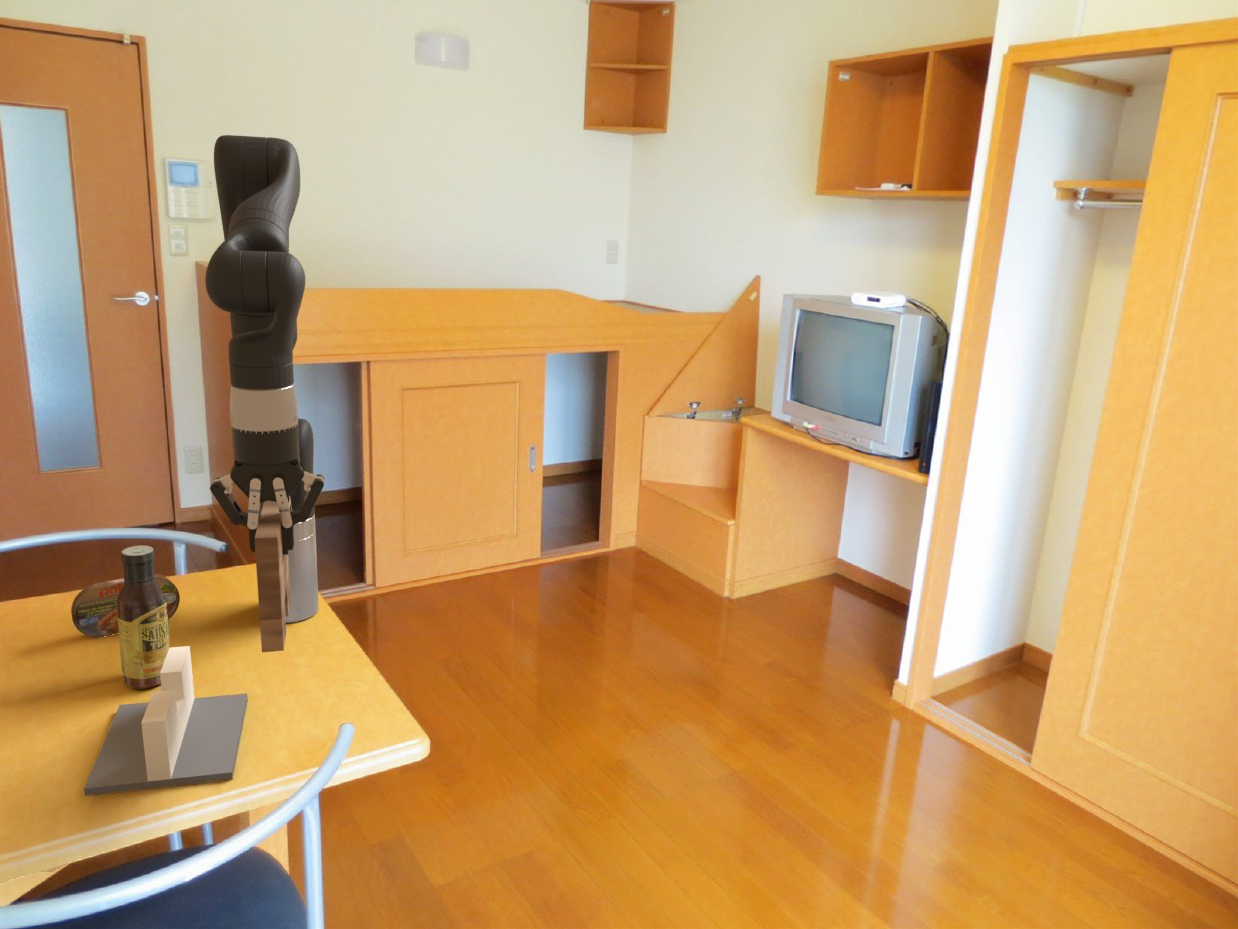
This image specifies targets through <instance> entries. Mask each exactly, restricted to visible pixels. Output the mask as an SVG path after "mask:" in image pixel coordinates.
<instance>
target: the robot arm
mask: <svg viewBox="0 0 1238 929" xmlns="http://www.w3.org/2000/svg"><path fill="white" fill-rule="evenodd" d="M213 168H214V175H215V184H216V185H215V186H216V191H217V192H216V193H217V197H218V198H217V199H218V205H219V206H218V207H219V210H220V218H221V225H222V231H223V232H222V233H223V238H224V239H223V241H222V242H221V244H220V245H219V246H218V247H217V248H216V249H215V250H214V252H213V254H212V255H211V256H210V259H209V261H208V263H207V267H206V271H205V277H204V278H205V279H204V280H205V281H204V282H205V283H204V284H205V289H206V293H207V295H208V298H209V299H210V301H211V302H212V303H213V304H214V306H215V307H217V308H218V309H220V310H222V311H224V312H227V313H229V316H230V328H231V329H230V330H231V339H230V340H229V342H228V349H227V350H228V362H229V374H230V375H229V376H230V377H229V378H230V396H229V410H230V412H229V421H230V426H231V427H230V428H231V442H232V454H233V455H232V456H233V457H232V458H233V466H232V467H231V469H230V472H229V474H226V475H224V476H222V477H218V476H217V477H214V478H213V480H212V482H211V484H210V486H209V490H210V492H211V494H212V495H213V497H214V498H215V499H216V501H217V502H218V504H219V505H220V507H221V508H222V510H223V511H224V513H225V515H226V516H227V518H228V519H229V520H230V522H231V524H232V525H233V526H240V525H241V526H244V527H246V528H247V529H248V540H249V541H248V542H249V550H250V551H251V552H252V553H255V535H256V531H257V527H258V523H259V519H260V515H261V511H262V507H263V503H264V502H265V501H273V502H277V505H278V509H279V512H280V517H281V521H282V528H281V532H282V550H283V555H288V562H289V581H290V608H289V615H288V616H285V620H286V624H289V623H290V624H291V623H296V622H300V621H305V620H307V619H310V618H311V617H313V616H314V615H316V614H317V613H318V611H319V609H320V607H319V585H318V584H319V579H318V558H317V535H316V514H315V513H316V512H315V509H316V508H315V505H316V503H317V501H318V499H319V497H320V495H321V492H322V491H323V489H324V486H325V476H323V475H322V474H319V473H318V474H316V475H315V474H314V453H315V452H314V447H315V446H314V445H315V444H314V441H315V440H314V432H313V427H312V425H311V423H310V422H309V421H308V420H307V419H305V418H299V415H298V399H297V394H296V391H295V390H296V389H295V383H294V380H295V379H294V378H295V377H294V376H295V375H294V357H293V356H294V354H293V353H294V349H295V347H296V345H297V340H298V321H297V320H298V316H299V311H300V309H301V305H302V300H303V298H304V295H305V294H304V293H305V288H306V274H305V269H304V268H303V265H302V264H301V262H300V260H298V258H297V257H296V256H294V255H293V254H292V253H290V227H291V223H292V220H293V217H294V215H295V212H296V208H297V205H298V201H299V197H300V193H301V192H300V191H301V167H300V161H299V156H298V152H297V149H296V148H295V146H294V144H293V143H291V142H290V141H288V140H286V139H283V138H279V137H270V136H269V137H266V136H252V135H251V136H248V135H236V134H235V135H234V134H233V135H231V134H230V135H229V134H227V135H226V134H225V135H224V134H223V135H219V136H218V137H217V138H216V141H215V143H214V148H213ZM233 483H234V484H235V485H236V486H237V487H238V488H239V490H240V491H241V492H242V493H243V494H244V495H245V496H246V497H247V498H248V505H247V506H248V508H247V511H248V512H246V511H244V510H243V508H242V507H241V506H240V504H239V503H238V501H237V499H236V498H235V496H234V495H233V489H234V486H233Z"/></svg>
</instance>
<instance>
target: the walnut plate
mask: <svg viewBox="0 0 1238 929" xmlns="http://www.w3.org/2000/svg"><path fill="white" fill-rule="evenodd" d="M281 528H282V521H281V517H280V512H279V509H278V505H277V502H273V501H265V502H264V503H263V507H262V511H261V515H260V519H259V523H258V527H257V531H256V535H255V552H254V553H255V564H256V566H255V569H256V583H257V584H256V585H257V597H258V598H257V599H258V611H259V612H258V613H259V626H260V627H259V628H260V629H259V630H260V642H261V643H260V644H261V652H262V653H272V652H282V651H283V652H284V650H285V643H286V638H287V637H286V636H287V625H286V624H287V623H286V620H285V616H288V615H289V608H290V581H289V562H288V555H283V550H282V532H281Z"/></svg>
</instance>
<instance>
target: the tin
mask: <svg viewBox="0 0 1238 929" xmlns="http://www.w3.org/2000/svg"><path fill="white" fill-rule="evenodd" d="M155 578H156V581H157V583H158V585H159V587H160V590H161V592H162V594H163V596H164V598H165V600H166V602H167V616H168V621H169V620H170V619H171V618H172V617H174V615H175V613H176V611H177V610H178V608H179V606H180V602H181V601H180V600H181V599H180V598H181V597H180V591H179V590H178V587H177V586H176V585H175V583H173V582H172V581H171V580H170V579H169V578H168V577H166V576H164V575H163V574H159V573H155ZM124 583H125V581H124V577H123V578H118V579H113V580H107V581H103V582H102V581H101V582H96V583H93V584H91V585H88V586H86V587H85V588H83V589H82V590H81V591H80V592H79V593H77V594H76V596H75V598H74V599H73V602H72V604H71V609H70V611H71V612H70V614H71V619H72V623H73V626H74V627H75V628H76V629H77V631H79V632H80V633H81V634H82V635H84V636H87V637H90V638H97V637H103V638H105V637H104V636H108V637H110V636H109V635H112V634H117V633H119V630H118V618H117V615H118V608H117V597H118V594H119V592H120V591H121V588H122V587H123V585H124ZM117 635H118V634H117ZM112 636H113V635H112ZM97 639H98V638H97Z"/></svg>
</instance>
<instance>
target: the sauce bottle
mask: <svg viewBox="0 0 1238 929" xmlns="http://www.w3.org/2000/svg"><path fill="white" fill-rule="evenodd" d="M120 557H121V560H120V561H121V562H122V564H123V572H124V573H123V576H124V577H123V578H124V581H125V583H124V585H123V587H122V588H121V591H120V592H119V594H118V597H117V608H118V615H117V618H118V630H119V634H118V640H119V642H118V643H119V650H120V651H119V652H120V664H121V674H122V675H123V682H124V684H125V685H126V686H127V687H128V688H131V689H137V690H143V689H150V688H153V687H157V686H159V685H160V686H161V679H160V672H161V669H162V666H163V664H164V661H165V658H166V656H167V653H168V650H169V648H170V647H171V645H170V630H169V628H170V627H169V620H168V616H167V602H166V600H165V598H164V596H163V594H162V592H161V590H160V587H159V585H158V583H157V581H156V578H155V574H156V573H155V564H154V560H155V550H154V548H153V547H152V546H150V545H133V546H129V547H126V548H124V549H122V550H121V552H120Z"/></svg>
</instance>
